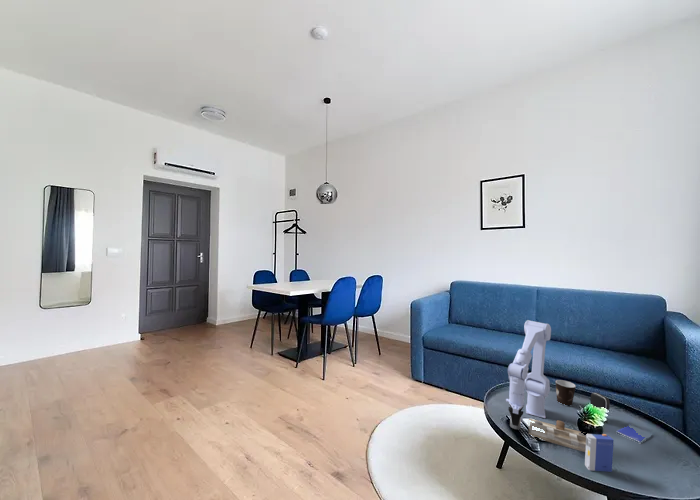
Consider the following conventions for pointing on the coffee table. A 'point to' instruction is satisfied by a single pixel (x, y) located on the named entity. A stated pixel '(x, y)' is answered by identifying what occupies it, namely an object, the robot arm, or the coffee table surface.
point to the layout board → (559, 434)
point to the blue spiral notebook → (630, 433)
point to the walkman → (599, 452)
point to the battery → (599, 401)
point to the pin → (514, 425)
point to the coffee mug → (565, 392)
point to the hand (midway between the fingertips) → (515, 422)
